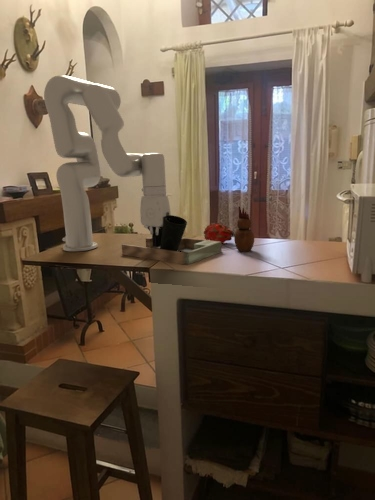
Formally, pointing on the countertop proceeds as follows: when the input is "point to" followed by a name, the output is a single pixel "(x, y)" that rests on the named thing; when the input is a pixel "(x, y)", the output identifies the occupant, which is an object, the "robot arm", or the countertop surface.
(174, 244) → the cup
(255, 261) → the countertop surface
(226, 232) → the dragon fruit
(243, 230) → the wooden figurine
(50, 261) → the countertop surface
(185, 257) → the open wooden tray box
